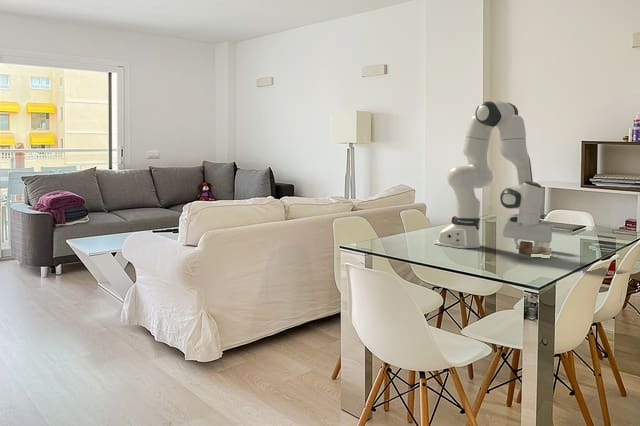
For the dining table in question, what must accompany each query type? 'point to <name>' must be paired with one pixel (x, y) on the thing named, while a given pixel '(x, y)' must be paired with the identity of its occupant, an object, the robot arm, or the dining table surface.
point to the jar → (541, 244)
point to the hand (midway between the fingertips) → (525, 249)
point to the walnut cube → (525, 248)
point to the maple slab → (542, 250)
